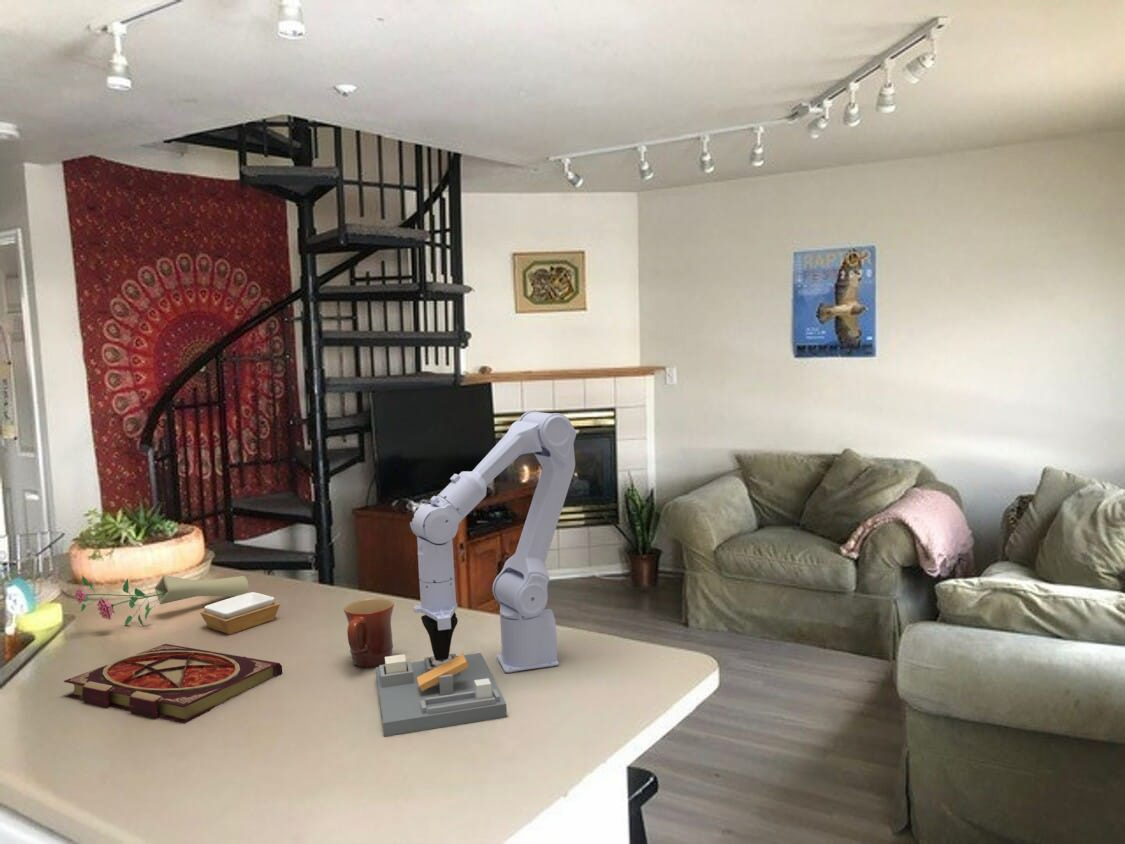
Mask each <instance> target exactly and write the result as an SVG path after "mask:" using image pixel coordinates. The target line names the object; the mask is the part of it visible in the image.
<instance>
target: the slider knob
mask: <svg viewBox="0 0 1125 844" xmlns="http://www.w3.org/2000/svg"><path fill="white" fill-rule="evenodd" d="M474 688H475V699H476V700H480V699H487V698H492V693H491V683H490V681H489V678H487V679H480V680H474Z"/></svg>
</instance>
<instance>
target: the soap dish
mask: <svg viewBox="0 0 1125 844" xmlns="http://www.w3.org/2000/svg"><path fill="white" fill-rule="evenodd" d="M280 605H281V604H280V602H279V603H278V602H276V601H275V597H273V596H270V595H267V594H262V593H259V592H255V591H254V592H253V591H252V592H247V593H246V594H243V595H239V596H235V597H228V598H226V599H223V600H219V601H216V602H213V603H211V604H207V605H205V606H204V608H203V609H204V610H202V611H201V612H200V616H201V617H202V618H203V620H204V621H205V623H206V625H207V626H208V627H209V629H212V630H215V631H219V632H221V633H224V634H227V635H232V634H236V633H238V632H241V631H244V630H246V629H249V628H253V627H256V626H259V625H262V624H264V623H269V622H273V621H274V620H275V618H276V617H277V616H276V615H277V613H278V610H279V608H280Z"/></svg>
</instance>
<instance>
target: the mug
mask: <svg viewBox="0 0 1125 844" xmlns="http://www.w3.org/2000/svg"><path fill="white" fill-rule="evenodd" d="M394 606H395V602H394V601H393V600H391V599H388V598H383V597H382V598H380V597H373V598H364V599H358V600H355V601H352V602H350V603H347V604H346V605H344V607H343V612H344V615H345V617H346V619H347V622H348V625H347V631H346V632H347V641H348V645H349V648H350V649H349V652H350V655H351V659H352V660H351V661H352V663H353V664H354V665H356V666H358V667H361V668H376V667H379V665H385V657H388V656H393V652H394V651H393V650H394V649H393V648H394V644H393V642H394V641H393V631H392V614H393V611H394V608H395V607H394Z"/></svg>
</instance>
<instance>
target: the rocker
mask: <svg viewBox="0 0 1125 844" xmlns="http://www.w3.org/2000/svg"><path fill="white" fill-rule="evenodd" d="M464 655H465V654H464V653H462V654H460V655H457V656H458V657H456V658H454V659H452V660H450V661H448V662H446V663H444V664H442V665H440V666H438V667H436V668H434V669H432V670H430V671H428V672H426V673H424V674H422V675H421V676H419V677H417V680H418V684H419V687H420V689H421V691H424V690H425V689H427V688H429V687H431V686H433V685H435V684H437V683H439V676H442V675H449V674H452V675H454V674H456V673H458V672H460V671H462V670H464V669H466V668H468V667H469V666H468V663H467V661H466V659H465V657H464Z"/></svg>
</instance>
